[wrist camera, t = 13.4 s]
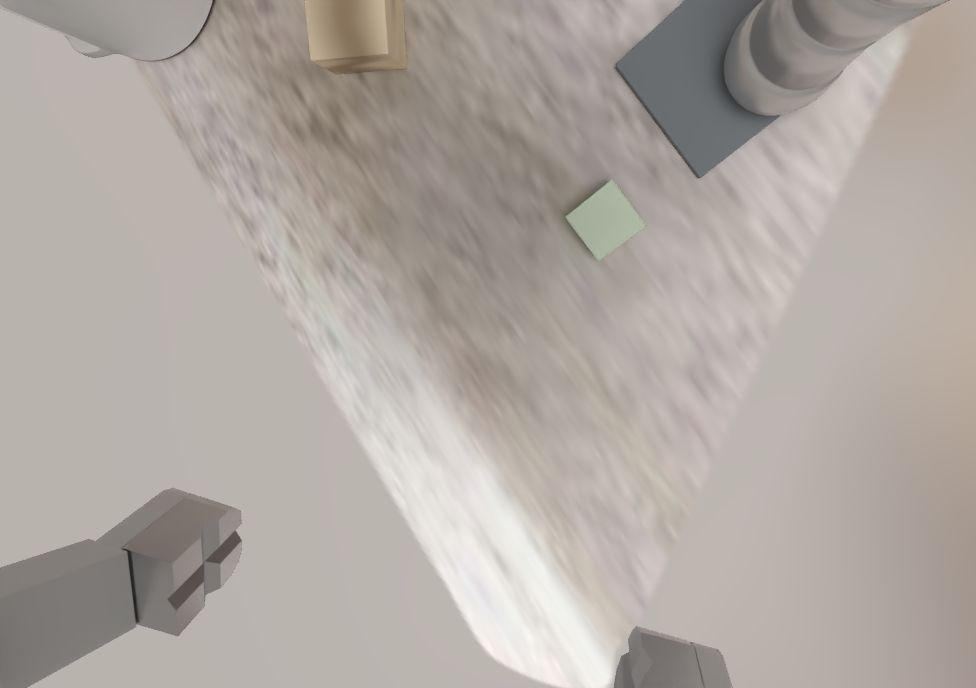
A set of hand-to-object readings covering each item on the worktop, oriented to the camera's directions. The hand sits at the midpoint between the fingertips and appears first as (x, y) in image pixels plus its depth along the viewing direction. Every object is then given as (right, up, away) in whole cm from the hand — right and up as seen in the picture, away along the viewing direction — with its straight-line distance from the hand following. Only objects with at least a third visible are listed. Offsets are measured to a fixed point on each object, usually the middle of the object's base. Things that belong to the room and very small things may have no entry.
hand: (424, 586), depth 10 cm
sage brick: (+10, +15, +28) cm, 33 cm away
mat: (+17, +24, +24) cm, 38 cm away
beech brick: (-8, +29, +28) cm, 41 cm away
